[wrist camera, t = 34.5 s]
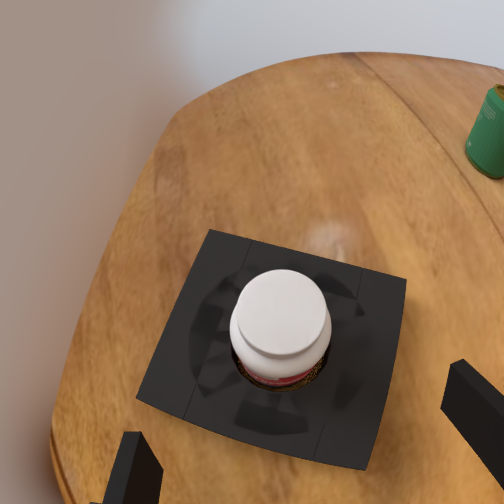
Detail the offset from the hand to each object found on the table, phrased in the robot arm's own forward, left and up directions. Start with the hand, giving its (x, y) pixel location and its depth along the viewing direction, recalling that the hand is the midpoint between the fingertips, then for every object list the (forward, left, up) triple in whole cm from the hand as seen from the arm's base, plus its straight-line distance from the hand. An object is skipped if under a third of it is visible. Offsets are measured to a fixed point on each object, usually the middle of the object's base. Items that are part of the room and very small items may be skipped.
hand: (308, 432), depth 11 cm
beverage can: (+20, +39, -13) cm, 46 cm away
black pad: (-3, +6, -13) cm, 15 cm away
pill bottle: (-3, +6, -13) cm, 15 cm away
